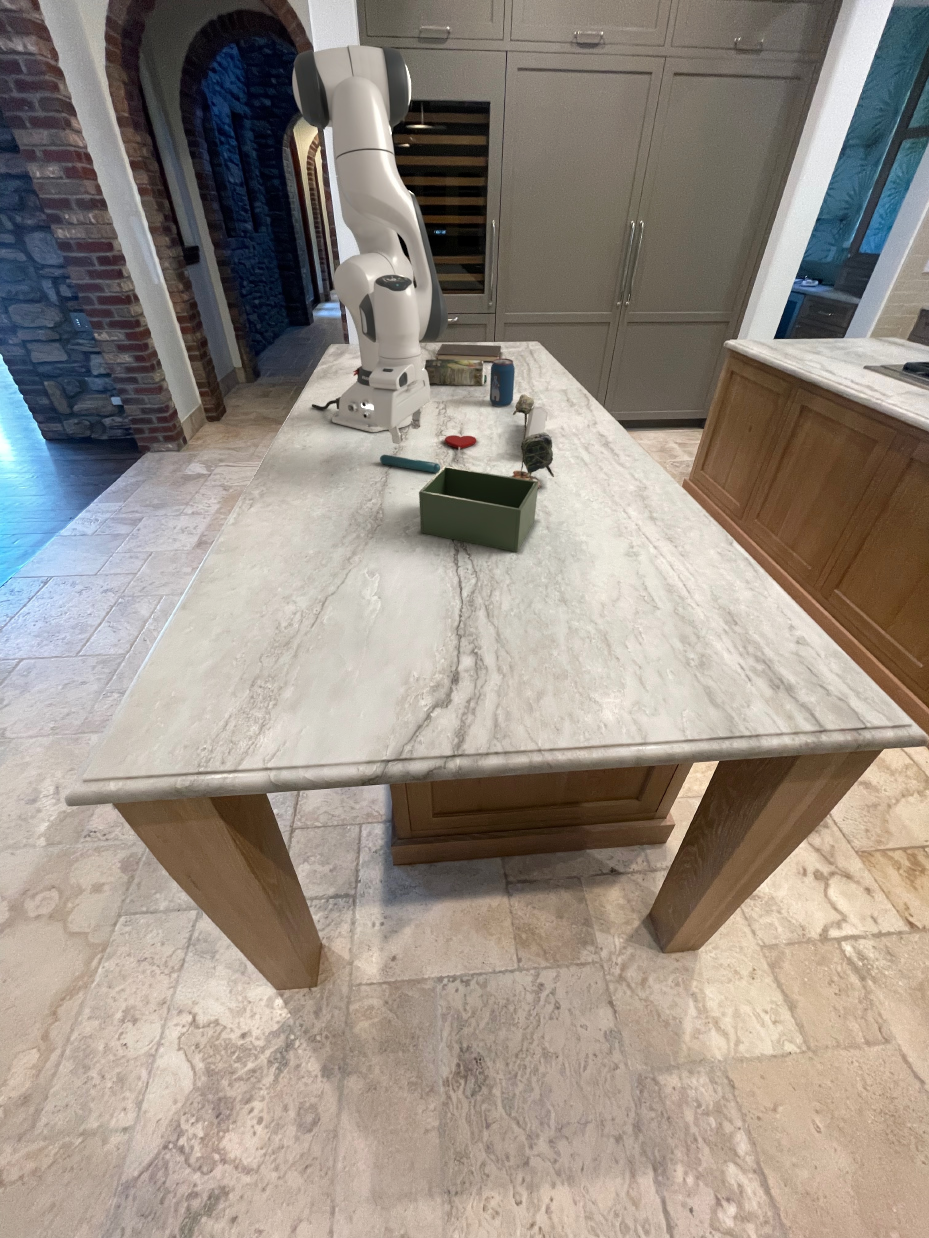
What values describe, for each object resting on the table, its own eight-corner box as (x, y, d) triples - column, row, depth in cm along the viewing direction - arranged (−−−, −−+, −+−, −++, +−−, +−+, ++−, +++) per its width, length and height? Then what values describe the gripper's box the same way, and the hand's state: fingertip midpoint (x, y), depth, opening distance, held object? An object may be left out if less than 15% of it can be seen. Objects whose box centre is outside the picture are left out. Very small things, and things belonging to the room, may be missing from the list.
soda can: (512, 400, 164) (515, 358, 156) (512, 408, 158) (514, 364, 151) (490, 399, 164) (491, 357, 156) (488, 407, 159) (490, 363, 151)
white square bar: (546, 447, 125) (550, 410, 144) (525, 438, 125) (532, 403, 144) (536, 466, 129) (542, 428, 148) (516, 458, 128) (524, 421, 147)
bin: (420, 532, 102) (418, 491, 97) (444, 504, 111) (444, 465, 106) (517, 552, 97) (520, 510, 92) (534, 521, 106) (538, 481, 101)
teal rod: (378, 465, 126) (377, 456, 125) (383, 461, 128) (382, 452, 126) (438, 475, 122) (438, 465, 121) (441, 471, 124) (441, 462, 122)
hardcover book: (498, 362, 197) (498, 355, 196) (436, 360, 199) (436, 353, 197) (500, 351, 209) (500, 345, 208) (442, 349, 211) (442, 343, 210)
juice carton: (485, 377, 182) (485, 357, 178) (486, 386, 175) (487, 366, 171) (426, 377, 182) (425, 358, 178) (425, 386, 175) (424, 366, 171)
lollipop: (474, 462, 127) (476, 439, 139) (474, 459, 127) (476, 435, 138) (440, 461, 128) (445, 438, 139) (440, 458, 127) (445, 434, 139)
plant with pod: (551, 496, 115) (563, 400, 102) (498, 491, 116) (504, 396, 103) (553, 480, 121) (565, 387, 108) (504, 475, 122) (509, 383, 110)
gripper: (409, 355, 119) (414, 418, 128) (364, 380, 105) (373, 449, 113) (435, 357, 117) (438, 421, 126) (392, 383, 103) (399, 453, 111)
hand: (407, 435), depth 120 cm, fingers open, 8 cm apart
